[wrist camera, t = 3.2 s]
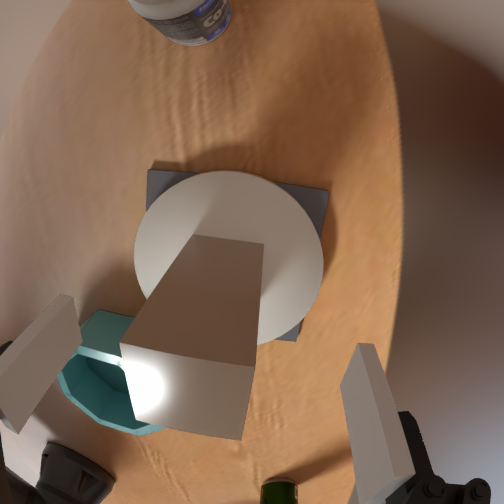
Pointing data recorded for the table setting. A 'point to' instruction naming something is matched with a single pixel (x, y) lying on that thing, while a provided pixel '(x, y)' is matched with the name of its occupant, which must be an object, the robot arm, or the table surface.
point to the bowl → (102, 375)
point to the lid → (215, 297)
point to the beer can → (279, 491)
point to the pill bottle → (186, 18)
